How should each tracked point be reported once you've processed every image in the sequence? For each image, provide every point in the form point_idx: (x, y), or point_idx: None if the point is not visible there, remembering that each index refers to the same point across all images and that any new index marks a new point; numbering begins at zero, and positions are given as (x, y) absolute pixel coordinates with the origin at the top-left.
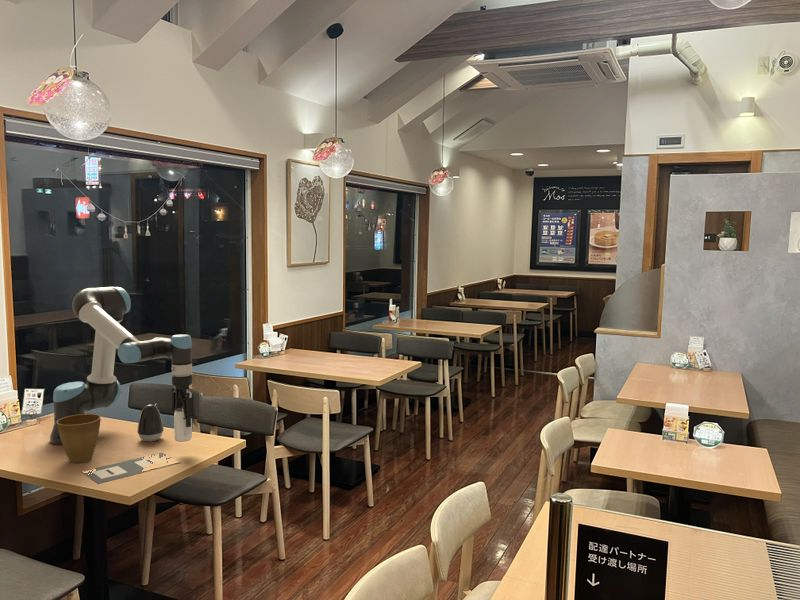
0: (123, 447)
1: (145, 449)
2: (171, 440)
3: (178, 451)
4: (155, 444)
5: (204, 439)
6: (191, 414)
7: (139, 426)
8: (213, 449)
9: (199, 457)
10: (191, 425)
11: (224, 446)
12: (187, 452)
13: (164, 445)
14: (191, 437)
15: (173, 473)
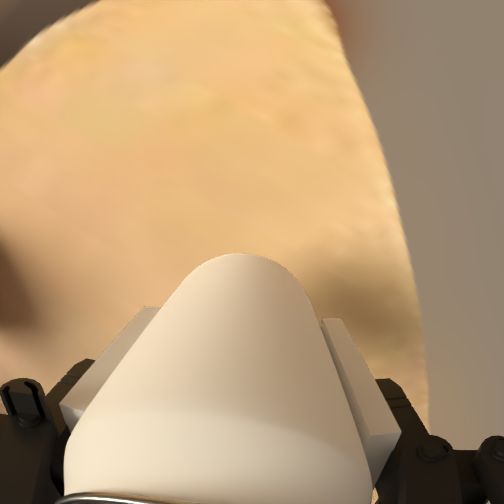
0: (7, 379)
1: (54, 352)
2: (4, 203)
3: (170, 269)
4: (16, 287)
5: (91, 60)
6: (491, 488)
7: None
8: (290, 101)
9: (357, 241)
10: (308, 321)
11: (287, 32)
12: (224, 242)
13: (43, 267)
14: (295, 279)
15: (422, 411)
